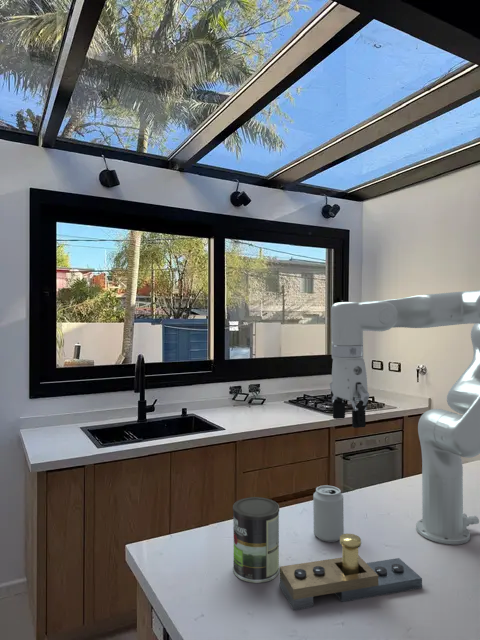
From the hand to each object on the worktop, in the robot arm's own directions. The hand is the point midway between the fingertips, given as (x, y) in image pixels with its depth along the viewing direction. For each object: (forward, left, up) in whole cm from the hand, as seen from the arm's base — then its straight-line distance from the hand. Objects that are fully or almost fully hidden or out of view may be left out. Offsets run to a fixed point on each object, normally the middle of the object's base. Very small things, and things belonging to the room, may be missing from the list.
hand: (348, 422), depth 108 cm
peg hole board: (+8, +15, -30) cm, 35 cm away
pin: (+8, +15, -30) cm, 35 cm away
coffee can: (+25, +4, -30) cm, 39 cm away
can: (+3, -6, -30) cm, 31 cm away
